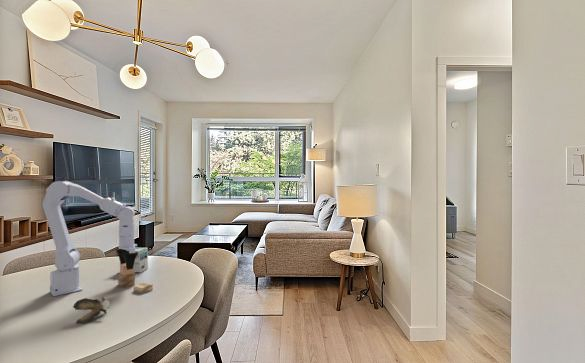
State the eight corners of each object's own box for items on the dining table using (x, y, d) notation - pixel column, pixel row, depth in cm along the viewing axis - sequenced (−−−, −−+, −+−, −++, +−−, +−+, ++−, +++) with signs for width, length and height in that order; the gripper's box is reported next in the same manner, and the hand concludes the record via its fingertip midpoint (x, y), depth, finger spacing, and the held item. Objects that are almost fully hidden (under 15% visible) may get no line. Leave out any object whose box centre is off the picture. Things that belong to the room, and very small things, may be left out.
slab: (141, 294, 122) (141, 288, 121) (133, 292, 124) (133, 285, 124) (152, 290, 126) (152, 284, 126) (145, 288, 128) (145, 282, 128)
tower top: (121, 282, 128) (121, 276, 128) (118, 279, 132) (118, 273, 132) (134, 279, 131) (134, 273, 131) (131, 276, 135) (131, 271, 135)
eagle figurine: (98, 306, 107) (69, 310, 100) (107, 290, 106) (78, 293, 98) (105, 323, 103) (76, 329, 96) (115, 307, 102) (86, 312, 95)
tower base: (121, 288, 128) (121, 282, 128) (118, 285, 132) (118, 279, 132) (134, 285, 131) (134, 279, 131) (130, 282, 135) (130, 276, 135)
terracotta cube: (123, 275, 129) (123, 266, 129) (120, 273, 132) (120, 264, 132) (133, 273, 132) (133, 264, 132) (130, 271, 134) (130, 262, 134)
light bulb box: (148, 268, 154) (148, 247, 154) (140, 273, 148) (140, 250, 147) (128, 268, 155) (128, 246, 155) (119, 272, 149) (119, 249, 149)
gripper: (142, 236, 129) (142, 268, 129) (131, 231, 139) (131, 262, 140) (124, 238, 124) (124, 272, 124) (113, 233, 134) (113, 265, 135)
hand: (126, 267), depth 132 cm, fingers open, 7 cm apart
